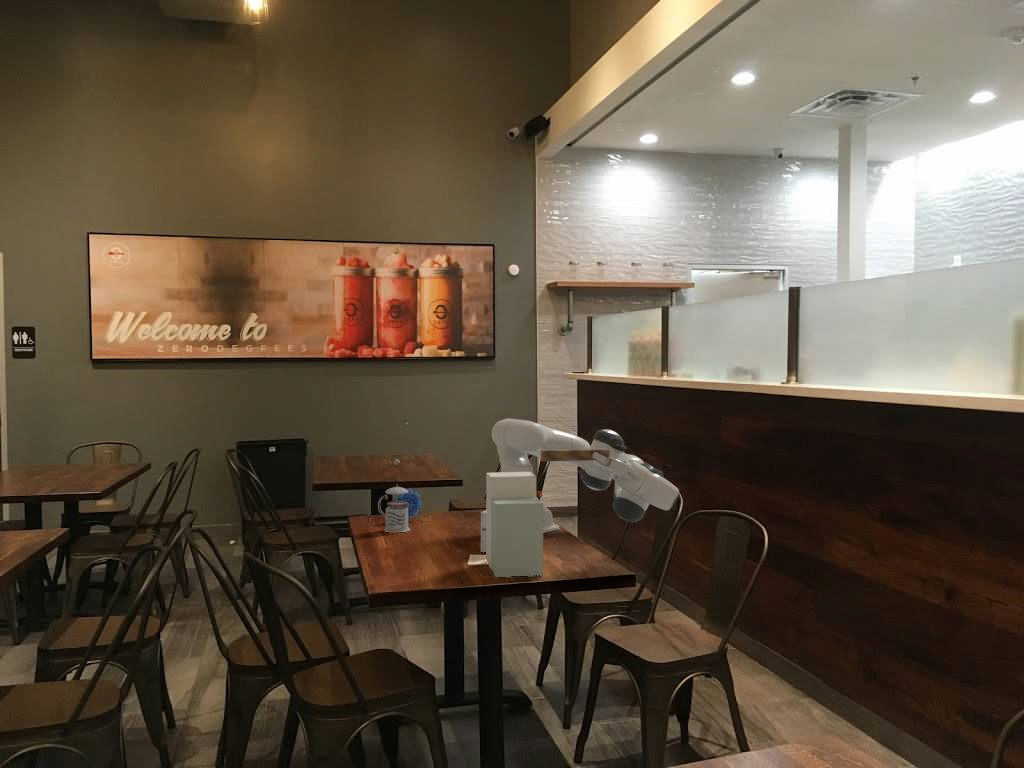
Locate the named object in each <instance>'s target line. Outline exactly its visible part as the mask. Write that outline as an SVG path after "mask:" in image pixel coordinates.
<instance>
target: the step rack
mask: <svg viewBox="0 0 1024 768" xmlns="http://www.w3.org/2000/svg"><path fill="white" fill-rule="evenodd" d="M485 474H486V477H485V478H486V482H485V483H486V491H485V492H486V504H485V505H486V507H485V508H486V509H485V510H486V553H485V555H486V557H485V558H486V560H487V561H486V560H485V561H486V563H487V562H488V563H487V565H488V564H489V565H488V566H489V568H490V570H491V571H493V572H492V574H493V573H494V574H493V576H494V577H495V576H496V577H506V578H510V577H509V576H528V577H543V576H544V533H543V506H544V502H543V501H542V500H541V499H539V497H537V496H536V492H537V475H536V474H534V473H533V474H532V473H531V472H500V471H499V472H498V471H497V472H496V471H495V472H486V473H485ZM534 575H535V576H534ZM536 575H537V576H536ZM539 575H540V576H539ZM496 577H495V578H496Z"/></svg>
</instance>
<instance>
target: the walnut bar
mask: <svg viewBox="0 0 1024 768" xmlns="http://www.w3.org/2000/svg"><path fill="white" fill-rule="evenodd" d="M593 452H597V453H598V454H600V455H602V456H605V457H607V458H608V457H610V450H609V449H564V450H541V457H540V461H541V462H557V461H585V460H596V459H594V458H593V457H592V456H591V455H592V454H593Z"/></svg>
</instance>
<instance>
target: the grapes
mask: <svg viewBox="0 0 1024 768" xmlns="http://www.w3.org/2000/svg"><path fill="white" fill-rule="evenodd" d="M407 490H408V491H409V492H408V493H407V494H396V498H394V499H392V501H394V502H395V501H398V502H401V501H403V502H407V504H406V505H403V506H407V507H408V522H409V521H411V518H412V517H416V516H417V515H418V514H419V508H421V506H422V504H423V502H422V500H421V499H420V497H421V494H420V493H419V492H418V491H417V492H414V491H413V489H412V488H408V489H407ZM397 509H399V508H397ZM394 514H395V513H393V514H392V515H394ZM403 516H404V515H403ZM397 517H401V516H397ZM396 520H399V519H396ZM403 520H404V519H403ZM399 521H400V520H399Z"/></svg>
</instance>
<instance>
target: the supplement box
mask: <svg viewBox="0 0 1024 768" xmlns="http://www.w3.org/2000/svg"><path fill="white" fill-rule="evenodd" d="M481 552H483V553H484V552H486V509H485V510H484V511H481V512H480V553H481Z"/></svg>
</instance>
